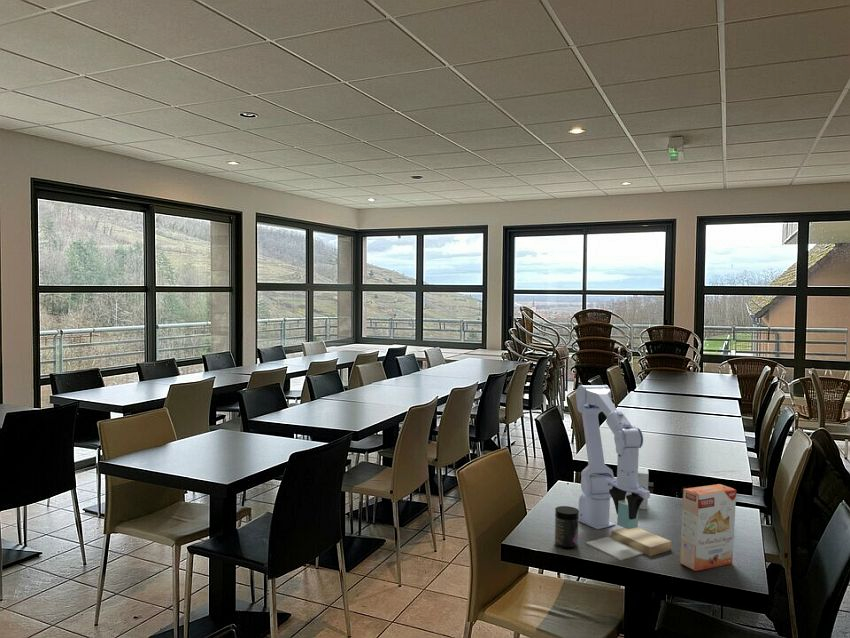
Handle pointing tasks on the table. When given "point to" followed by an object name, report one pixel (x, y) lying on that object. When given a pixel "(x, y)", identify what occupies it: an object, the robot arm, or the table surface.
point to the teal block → (625, 516)
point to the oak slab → (642, 540)
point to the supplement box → (642, 485)
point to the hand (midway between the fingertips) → (626, 516)
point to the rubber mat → (614, 548)
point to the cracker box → (707, 526)
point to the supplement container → (566, 527)
